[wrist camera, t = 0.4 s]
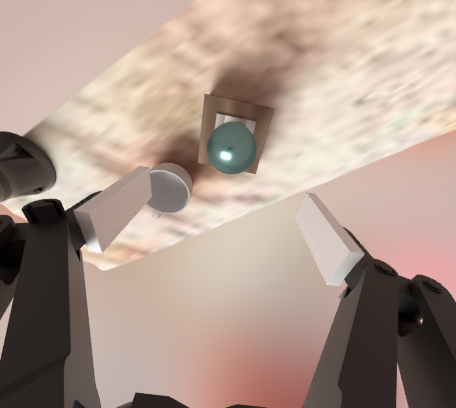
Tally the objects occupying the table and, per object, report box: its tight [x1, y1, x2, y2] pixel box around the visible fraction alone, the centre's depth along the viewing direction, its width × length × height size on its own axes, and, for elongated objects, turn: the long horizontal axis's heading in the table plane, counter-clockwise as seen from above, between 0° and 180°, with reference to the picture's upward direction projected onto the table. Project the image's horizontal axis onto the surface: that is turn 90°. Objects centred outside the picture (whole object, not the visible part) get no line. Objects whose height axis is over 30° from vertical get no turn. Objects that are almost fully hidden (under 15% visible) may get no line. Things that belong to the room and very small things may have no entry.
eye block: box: [198, 94, 274, 174], centre depth 35 cm, size 12×12×6 cm
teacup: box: [146, 163, 192, 219], centre depth 41 cm, size 14×11×8 cm
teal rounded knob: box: [207, 121, 257, 174], centre depth 31 cm, size 7×7×15 cm
